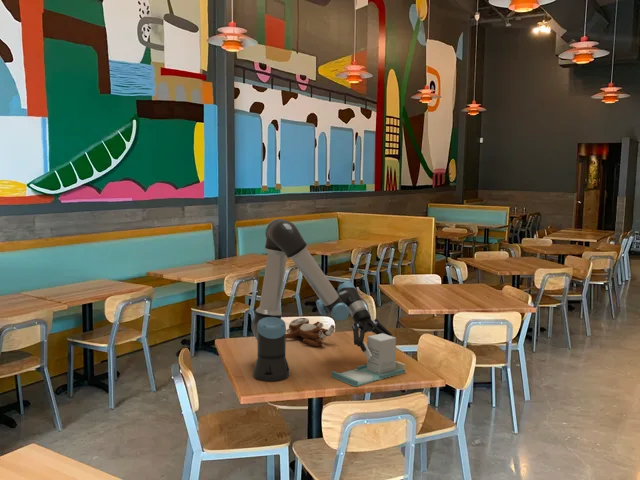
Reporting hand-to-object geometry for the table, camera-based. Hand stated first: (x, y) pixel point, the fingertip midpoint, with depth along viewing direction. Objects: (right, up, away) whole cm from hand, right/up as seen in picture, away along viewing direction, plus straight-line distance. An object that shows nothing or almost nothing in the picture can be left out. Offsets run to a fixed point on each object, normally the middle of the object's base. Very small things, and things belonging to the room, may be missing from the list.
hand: (381, 354), depth 243 cm
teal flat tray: (-6, -8, -2) cm, 10 cm away
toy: (-33, -3, +48) cm, 58 cm away
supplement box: (0, -7, +1) cm, 7 cm away
